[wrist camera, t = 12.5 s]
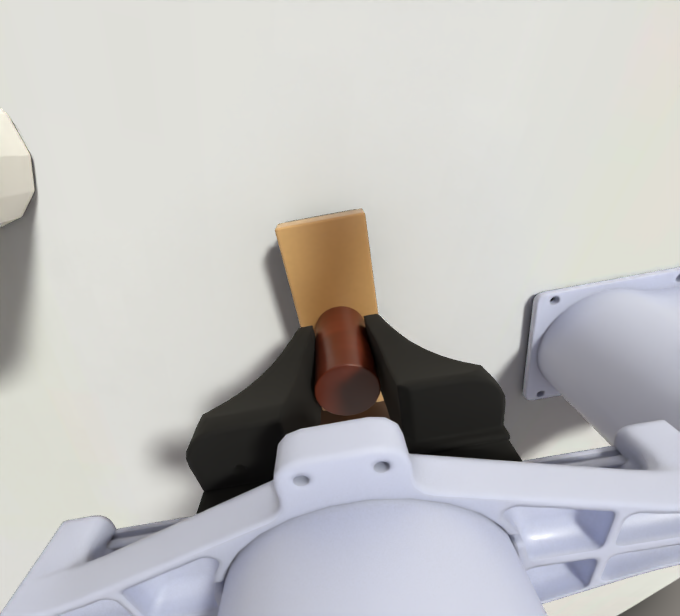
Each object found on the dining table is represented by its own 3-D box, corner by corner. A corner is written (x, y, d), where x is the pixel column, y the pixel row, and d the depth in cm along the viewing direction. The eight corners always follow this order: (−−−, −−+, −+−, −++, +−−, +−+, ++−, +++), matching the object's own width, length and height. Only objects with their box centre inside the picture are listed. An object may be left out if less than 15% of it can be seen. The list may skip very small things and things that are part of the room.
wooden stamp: (359, 203, 15) (385, 241, 9) (382, 375, 20) (409, 475, 14) (280, 218, 15) (253, 265, 9) (322, 385, 20) (323, 489, 14)
